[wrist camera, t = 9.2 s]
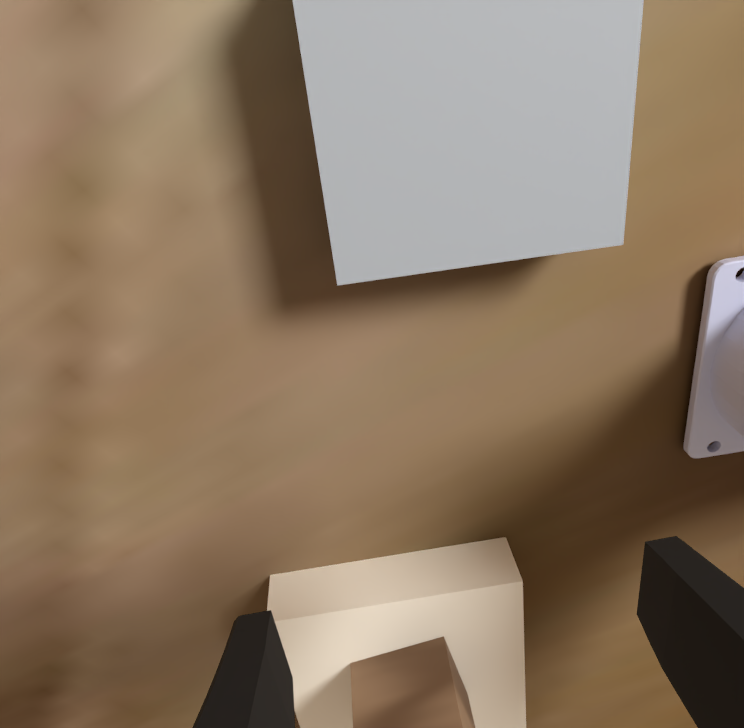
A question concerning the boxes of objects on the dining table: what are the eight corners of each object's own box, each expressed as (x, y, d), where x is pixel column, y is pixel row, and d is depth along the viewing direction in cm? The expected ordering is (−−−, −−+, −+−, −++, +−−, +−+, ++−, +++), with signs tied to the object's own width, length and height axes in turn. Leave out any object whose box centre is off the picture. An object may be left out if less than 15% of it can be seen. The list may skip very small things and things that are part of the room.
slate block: (595, -90, 15) (653, -118, 13) (581, 217, 19) (623, 244, 17) (287, -48, 15) (281, -69, 13) (334, 252, 19) (337, 285, 16)
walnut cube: (443, 636, 24) (464, 736, 20) (467, 694, 26) (490, 795, 22) (350, 663, 24) (354, 766, 21) (380, 718, 26) (389, 821, 23)
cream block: (501, 526, 26) (522, 581, 23) (508, 672, 30) (526, 732, 28) (271, 563, 26) (265, 622, 23) (313, 704, 30) (313, 767, 28)
